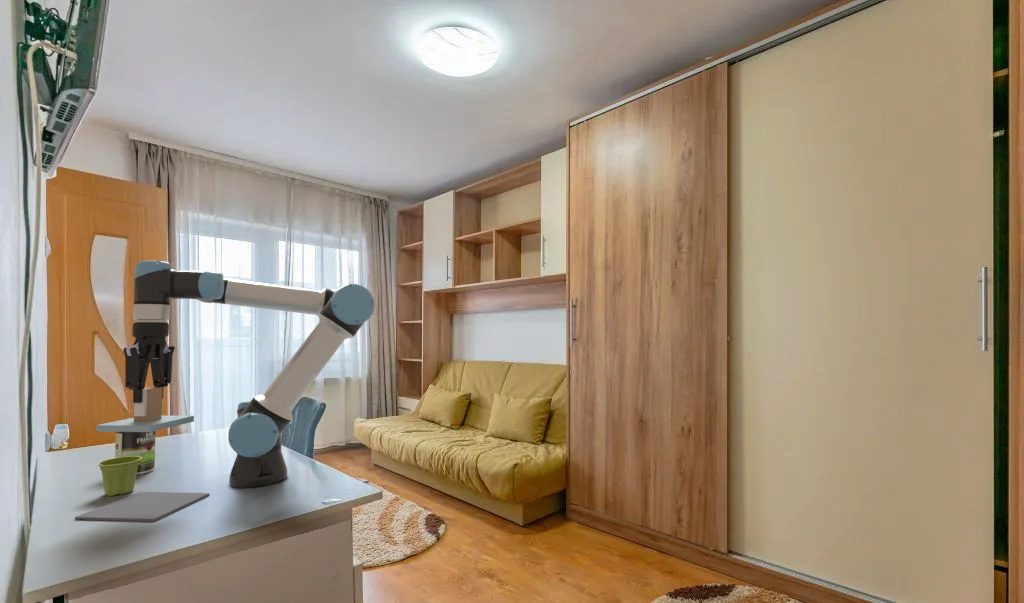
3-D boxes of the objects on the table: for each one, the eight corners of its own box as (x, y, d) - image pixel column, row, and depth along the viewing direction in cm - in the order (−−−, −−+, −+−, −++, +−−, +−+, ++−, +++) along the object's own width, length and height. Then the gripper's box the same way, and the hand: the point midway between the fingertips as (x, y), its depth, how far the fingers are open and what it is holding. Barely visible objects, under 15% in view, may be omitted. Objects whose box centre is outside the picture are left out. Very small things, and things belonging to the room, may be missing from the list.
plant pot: (116, 499, 130) (117, 465, 130) (87, 497, 132) (88, 464, 132) (149, 488, 139) (150, 456, 139) (121, 486, 141) (122, 455, 141)
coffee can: (163, 467, 160) (164, 423, 160) (133, 477, 149) (135, 430, 150) (135, 466, 161) (136, 423, 162) (104, 476, 151) (106, 429, 152)
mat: (209, 495, 132) (209, 493, 132) (154, 521, 114) (154, 519, 114) (139, 494, 134) (140, 491, 134) (74, 519, 116) (75, 516, 116)
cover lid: (193, 421, 131) (194, 385, 132) (150, 432, 117) (151, 391, 118) (145, 420, 132) (146, 385, 133) (96, 431, 118) (97, 391, 119)
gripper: (164, 322, 135) (161, 409, 134) (107, 321, 118) (103, 420, 117) (189, 322, 134) (187, 409, 133) (136, 320, 117) (132, 420, 116)
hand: (148, 414), depth 125 cm, fingers closed on cover lid, 4 cm apart
